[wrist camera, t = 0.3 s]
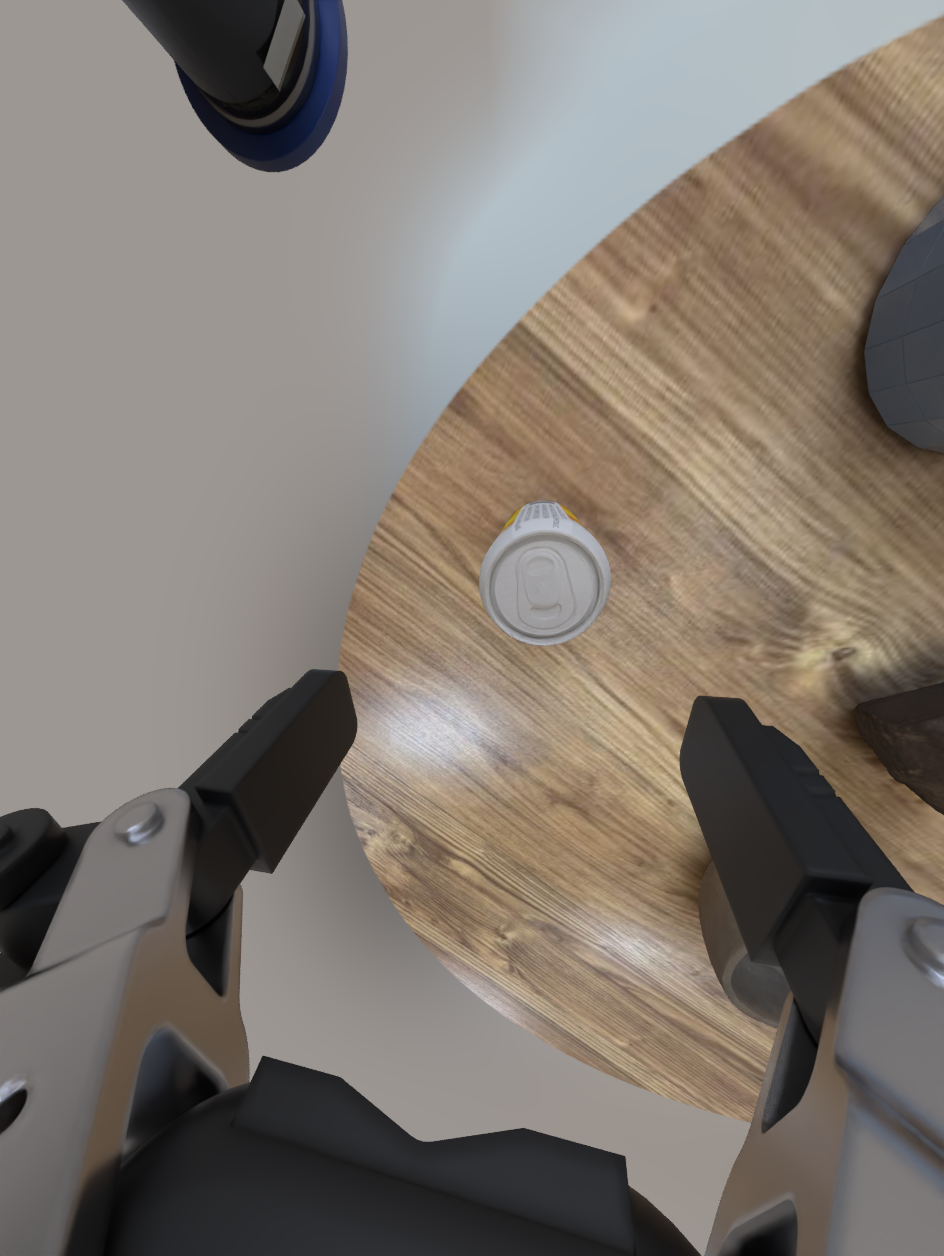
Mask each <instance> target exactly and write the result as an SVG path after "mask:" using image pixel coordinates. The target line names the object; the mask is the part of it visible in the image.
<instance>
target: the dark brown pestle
mask: <svg viewBox="0 0 944 1256" xmlns="http://www.w3.org/2000/svg"><path fill="white" fill-rule="evenodd" d="M854 712H855V717H856V720H857V726H858V729H859V731H860V733H861V735H862V736H863V738H864V740H865V742H866V743H867V744H868V745H869V747H870V748H871V749H872V750H873V751H874V753H875V754H876V755H877V757H878V758H879V760H880V761H881V762H882V764H883V765H884V766H885V767H886V769H887V771H888V773H889V774H890V775H891V776H892V777H893V778H894V779H895V780H896V781H897V782H899V783H902V784H905V785H906V786H907V787H908V788H909V789H910V790H912V791H913V792H914V793H915V794H917V795H918V796H919V797H920V798H921V799H922V800H923V801H925V802H926V803H927V804H929V805H930V806H931V807H933V808H934V809H935V810H936V811H938V812H940V813H941V814H943V815H944V682H943V683H940V684H936V685H933V686H929V687H925V688H921V689H917V690H913V691H909V692H905V693H901V694H897V695H893V696H888V697H884V698H879V699H875V700H871V701H867V702H863V703H861V704H858V705H857V706H856V707H855V709H854Z"/></svg>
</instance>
